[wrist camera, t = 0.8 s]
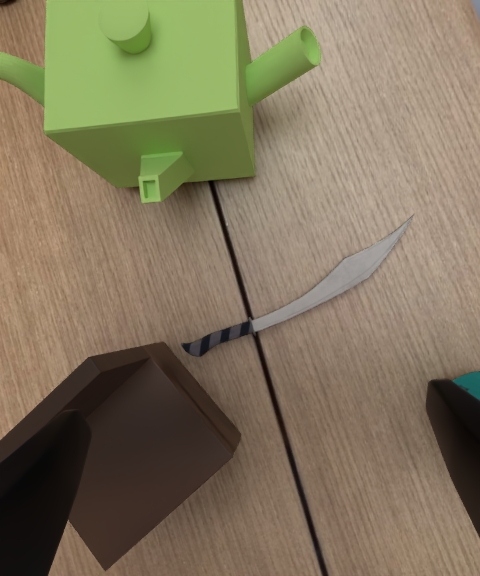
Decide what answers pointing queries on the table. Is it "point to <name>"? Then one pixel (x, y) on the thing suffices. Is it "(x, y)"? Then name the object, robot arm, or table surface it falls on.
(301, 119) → the table surface
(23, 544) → the robot arm
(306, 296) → the knife
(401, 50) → the table surface
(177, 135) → the kettle
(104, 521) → the brown toy chair
